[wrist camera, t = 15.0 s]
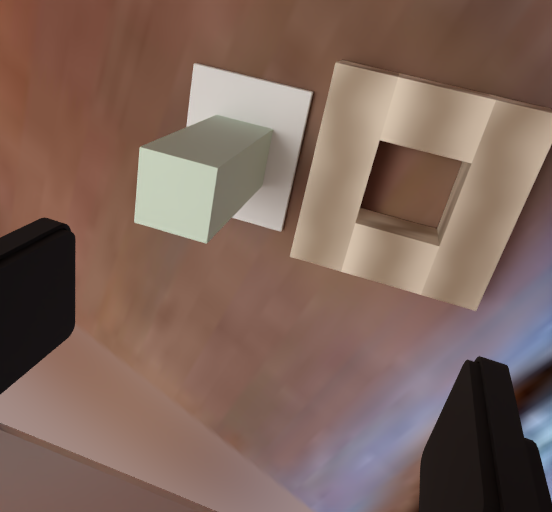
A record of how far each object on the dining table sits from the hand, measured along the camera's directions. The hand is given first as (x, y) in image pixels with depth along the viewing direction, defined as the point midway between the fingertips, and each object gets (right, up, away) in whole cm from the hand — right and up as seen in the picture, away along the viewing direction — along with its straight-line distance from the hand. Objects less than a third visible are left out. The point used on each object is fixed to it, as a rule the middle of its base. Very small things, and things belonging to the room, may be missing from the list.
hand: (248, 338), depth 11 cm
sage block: (-2, +10, +27) cm, 29 cm away
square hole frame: (+11, +7, +25) cm, 28 cm away
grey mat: (-2, +10, +27) cm, 29 cm away
